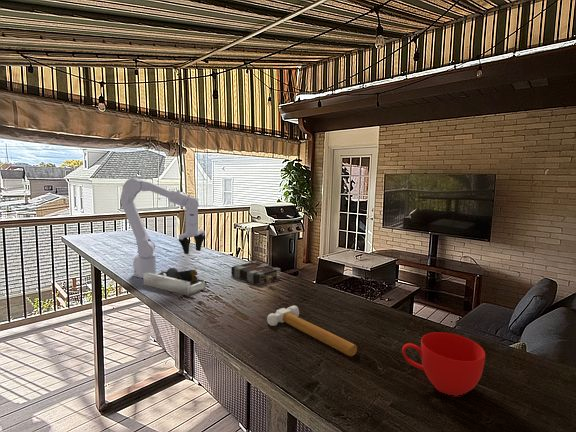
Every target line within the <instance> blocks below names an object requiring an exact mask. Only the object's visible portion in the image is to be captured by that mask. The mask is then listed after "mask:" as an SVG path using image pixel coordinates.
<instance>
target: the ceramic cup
mask: <svg viewBox="0 0 576 432" xmlns="http://www.w3.org/2000/svg"><path fill="white" fill-rule="evenodd" d="M408 348H411V349H415V350H416V351H417V352H418V353H419V355H420V358H421V364H420V363H418V362H416V361H414V360H412V358H409V357H408V355H407V353H406V350H407V349H408ZM401 352H402V356H403V358H404V359H405V361H406V362H407V363H409V364H410V365H412V366H413V367H415V368H417V369H419V370H422V371H424V373H425V376H426V377H427V379H428V380H429V381H430V383H431V384H432V386H433V385H434V386H433V387H434V388H435V390H437V391H438V392H439V393H441V392H442V393H441V394H443V393H445V394H444V395H446V394H448V395H447V396H449V395H454V396H453V397H459V396H458V395H462V396H463V394H464V395H465V394H467V393H468V392H470V391H472V390H473V389H475V387H476V385H478V383H479V382H480V380H481V378H482V375H483V372H484V366H485V362H486V352H485V350H484V348H483V347H482V346H481V345H480V344H478V343H477V342H475V341H473V340H472V339H469V338H467V337H465V336H461V335H458V334H455V333H449V332H439V331H438V332H437V331H436V332H430V333H429V332H428V333H426V334H424V335H423V336H422V337H421V340H420V346H418V345H416V344H414V343H411V342H408V343H405V344H404V345H403V346H402V348H401Z"/></svg>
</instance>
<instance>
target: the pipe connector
mask: <svg viewBox="0 0 576 432" xmlns="http://www.w3.org/2000/svg"><path fill="white" fill-rule="evenodd" d="M165 274H166V275H165V276H167V277H171V278H175V279H180V280H184V281H188V282H190V283H193V282H198V277H197V276H198V271H197V270H196V269H190V270H181V271H178V269H177V268H175V267H170V268H169V269H167V270H166V273H165Z"/></svg>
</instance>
